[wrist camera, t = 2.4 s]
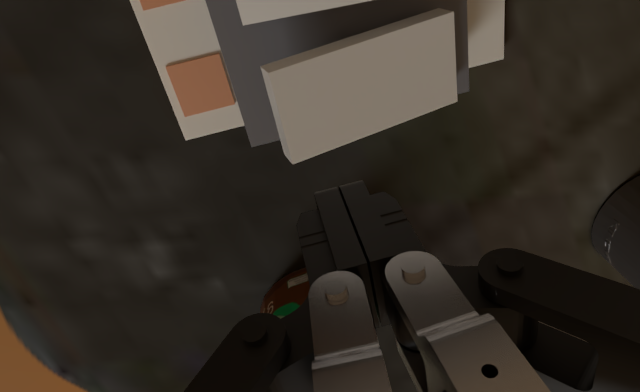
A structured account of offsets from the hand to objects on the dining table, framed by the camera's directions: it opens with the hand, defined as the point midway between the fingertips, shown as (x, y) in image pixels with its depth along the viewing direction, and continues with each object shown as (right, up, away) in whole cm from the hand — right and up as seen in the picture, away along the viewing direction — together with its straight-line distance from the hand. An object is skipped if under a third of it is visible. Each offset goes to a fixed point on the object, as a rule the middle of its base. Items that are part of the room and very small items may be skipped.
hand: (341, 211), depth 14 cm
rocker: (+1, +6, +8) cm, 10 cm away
